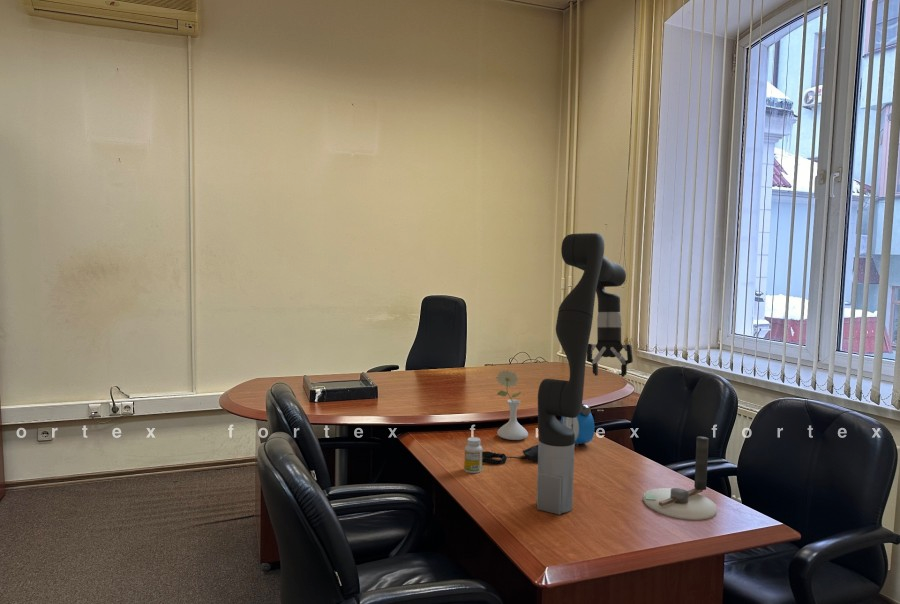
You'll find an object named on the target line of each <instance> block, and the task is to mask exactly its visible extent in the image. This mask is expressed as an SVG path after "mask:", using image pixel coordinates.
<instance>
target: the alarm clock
mask: <svg viewBox="0 0 900 604" xmlns="http://www.w3.org/2000/svg"><path fill="white" fill-rule="evenodd" d="M591 410H592V409H591V407H590V406H589V405H587V404H585V403H582V406H581V410H580V413H579V415H578V416H577V417H575V418H569V417H562V416H561V419H560V421H561V422H560V423H562V424H563V425H565V426H566V427H568V428H570V429H571V430H573V432H574V434H575V445H576V446H575V447H578V445H579V444H588V443H590V442H591V441H592V440H593V438H594V436H595V435H594V434H595V430H596V429H595V420H594V416H593V415H592V412H591Z"/></svg>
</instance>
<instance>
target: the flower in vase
mask: <svg viewBox="0 0 900 604" xmlns="http://www.w3.org/2000/svg"><path fill="white" fill-rule="evenodd" d="M496 380H497V381H498V384H499V385H501V386H504V387H505V388H510V387H514V386H517V383H518V382H519V376H518V374H516V372H513V371H512V370H508V369H506V370H505V369H503V370H502V371H499V372H498V374H497V376H496ZM508 391H509V390H506V391H505V390H499V391H498V392H497V393H496V395H498V396H501V397H506V396H507V395H508V397H509V399H506V402H507V404H508V406H509V420H508V422H506V423H504V424H503V425H502V426H500V427H499V428H498V429H497V432H496V434H497V435H498V436H499V437H500V438H501V439H506V440H508V441H509V440H510V441H511V440H512V441H521V440H524V439H526V438H527V437H528V436H529V432H528V431H527V429H526V428H525V427H523V425H521V424H520V423H519V422H518V420H517V412H518V411H517V410H518V406H519V405H520V404H521V400H519V399H513V398H516V397H518V396H519V395H521V391H519V392H516V393H513V394H512V395H510V393H509V392H508Z"/></svg>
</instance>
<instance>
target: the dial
mask: <svg viewBox="0 0 900 604" xmlns="http://www.w3.org/2000/svg"><path fill="white" fill-rule="evenodd" d="M709 439H710V438H708V437H706V436H696V441H695V442H696V445H695V447H696V448H695V467H694V484H693V485H694V486H693V489H689V490H686V489H684V488H678V487H674V488H673V487H672V489H671V496H670V498H668V499H666V500H663V501H660V502H659V505H660V506H665V505H667V504H670V503H673V502H676V503H681V504H685V503H688V497H690V496H692V495H695V494H700V493H702V492H703V491H706V490H707V482H708V481H707V480H708V463H709V462H708V460H709V459H708V457H709V441H710V440H709Z"/></svg>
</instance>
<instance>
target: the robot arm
mask: <svg viewBox="0 0 900 604" xmlns="http://www.w3.org/2000/svg"><path fill="white" fill-rule="evenodd" d="M560 252H561V257H562V260H563V262H564V263H565V264H566V265H567V266H570V267H575V268H576V269H579V270H582V271H583V273H582V275H581V278H580V279H579V281H578V283H577V284H576V285H575V286H574V287H573V288H572V289H571V291H570V292H569V293H568V294H567V295H566V296H565V298H564V299H563V300H562V301H561V303H560V305H559V306H558V312H557V318H556V324H555V334H556V337H557V340H558V341H559V344H560V345H561V348H562V350H563V352H564V354H565V357H566V360H567V362H568V366H569V380H565V379H564V380H563V379H556V378H544V379H542V380H541V382H540V383H539V386H538V390H537V431H538V432H537V433H538V444H537V445H538V462H537V476H536V477H537V479H536V506H537V507H536V509H537V510H539V511H543V512H547V513H552V514H556V515H561V514H563V513H568V512H570V511H571V510H573V500H574V499H573V498H574V470H575V469H574V466H575V463H574V462H575V447H576V446H575V445H576V444H575V434H574V432H573V430H571V429H570V428H568V427H566V426H565V425H563V424H562V423H561V422H560V421H559V420H558V419H557V417H561V418H562V417H569V418H575V417H577V416H578V415H579V413H580V410H581V406H582V404H583V401H584V399H583V398H584V386H585V377H586V376H585V375H586V364H587V363H586V362H589V363H591V364H592V374H593V375H594V376H596V377H597V376H599V364H598V362H599V361H600V360H601V359H602V358H617V360H619V362H620V363H621V365H620V367H621V369H620V371H621V372H620V373H621V374H620V375H621V377H622V378H624V377H625V376H627V374H628V372H627V371H628V365H629V364H631V363H633V361H634V360H633V348H632V344H630V343H629V344H623V343H622V316H621V297H620V295H618V294H615V293H611V292H610V293H609V292H607V291H606V289H605V288H606V287H607V288H609V287H610V288H611V287H613V288H615V287H620V286H623V284H624V283H625V282H626V280H627V272H626V270H625V268H624V267H623V266H622V264H619V263H618V262H614V261H611V260H609V259H608V257H606V256H604V254H605V240H604V237H603V235H602V234H600V233H596V232H589V233H588V232H587V233H585V232H583V233H582V232H581V233H570V234H567V235H566V236H565V237H564V238H563V240H562V242H561V247H560ZM596 296H597V297H596ZM596 298H597V312H598V313H597V317H596V321H597V322H596V327H597V329H596V334H597V335H596V336H597V338H596V340H597V342H596V344H593V343H589V342H590V337H591V331H592V327H593V319H594V310H595V309H594V308H595V303H596V302H595V301H596ZM595 348H596V349H597V351H598V353H597V354H596V356H595V357H594V358H593V351H594V350H595ZM623 349H624V351H625V352H626V357H627V359H625V358H624V356H623V355H622V353H621V351H622V350H623Z"/></svg>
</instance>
